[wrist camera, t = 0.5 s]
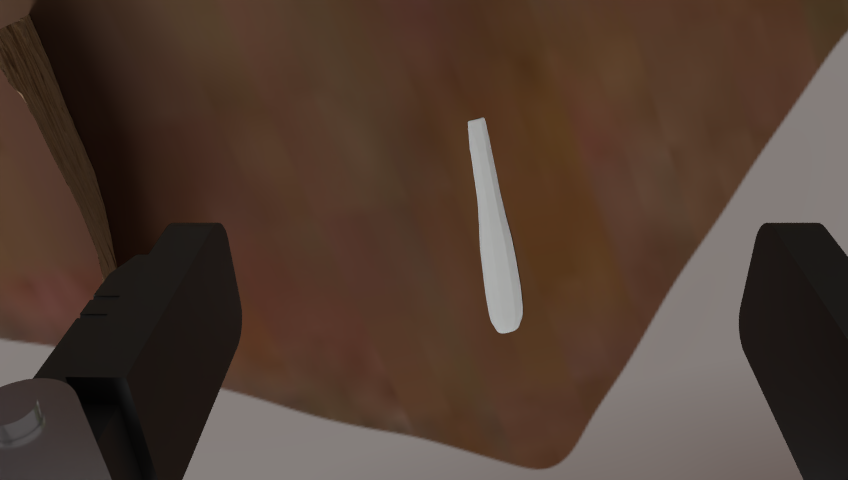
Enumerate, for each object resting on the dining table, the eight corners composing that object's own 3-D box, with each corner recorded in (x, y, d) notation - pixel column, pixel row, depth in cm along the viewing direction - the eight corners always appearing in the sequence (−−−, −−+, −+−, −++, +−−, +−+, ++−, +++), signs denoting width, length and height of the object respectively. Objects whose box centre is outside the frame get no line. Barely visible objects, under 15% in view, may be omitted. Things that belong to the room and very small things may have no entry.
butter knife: (477, 341, 44) (527, 330, 45) (389, -179, 33) (457, -192, 33) (475, 336, 45) (524, 325, 45) (387, -178, 33) (454, -191, 33)
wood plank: (-5, 19, 32) (-45, 40, 28) (45, 10, 33) (13, 30, 28) (111, 321, 39) (94, 376, 35) (152, 312, 40) (140, 365, 35)
